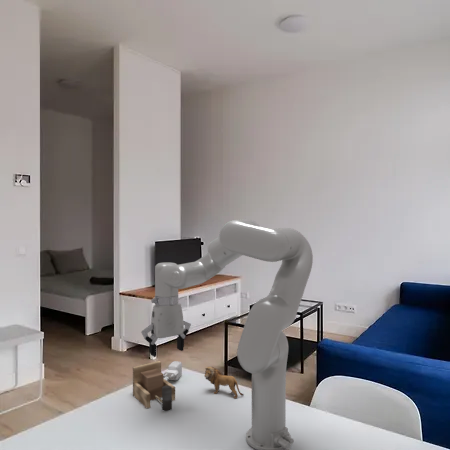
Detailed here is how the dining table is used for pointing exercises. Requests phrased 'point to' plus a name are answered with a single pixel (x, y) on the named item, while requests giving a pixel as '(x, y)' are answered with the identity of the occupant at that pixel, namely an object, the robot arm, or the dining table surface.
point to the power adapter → (174, 371)
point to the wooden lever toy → (157, 388)
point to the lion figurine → (221, 380)
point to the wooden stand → (139, 390)
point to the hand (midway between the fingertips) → (167, 352)
